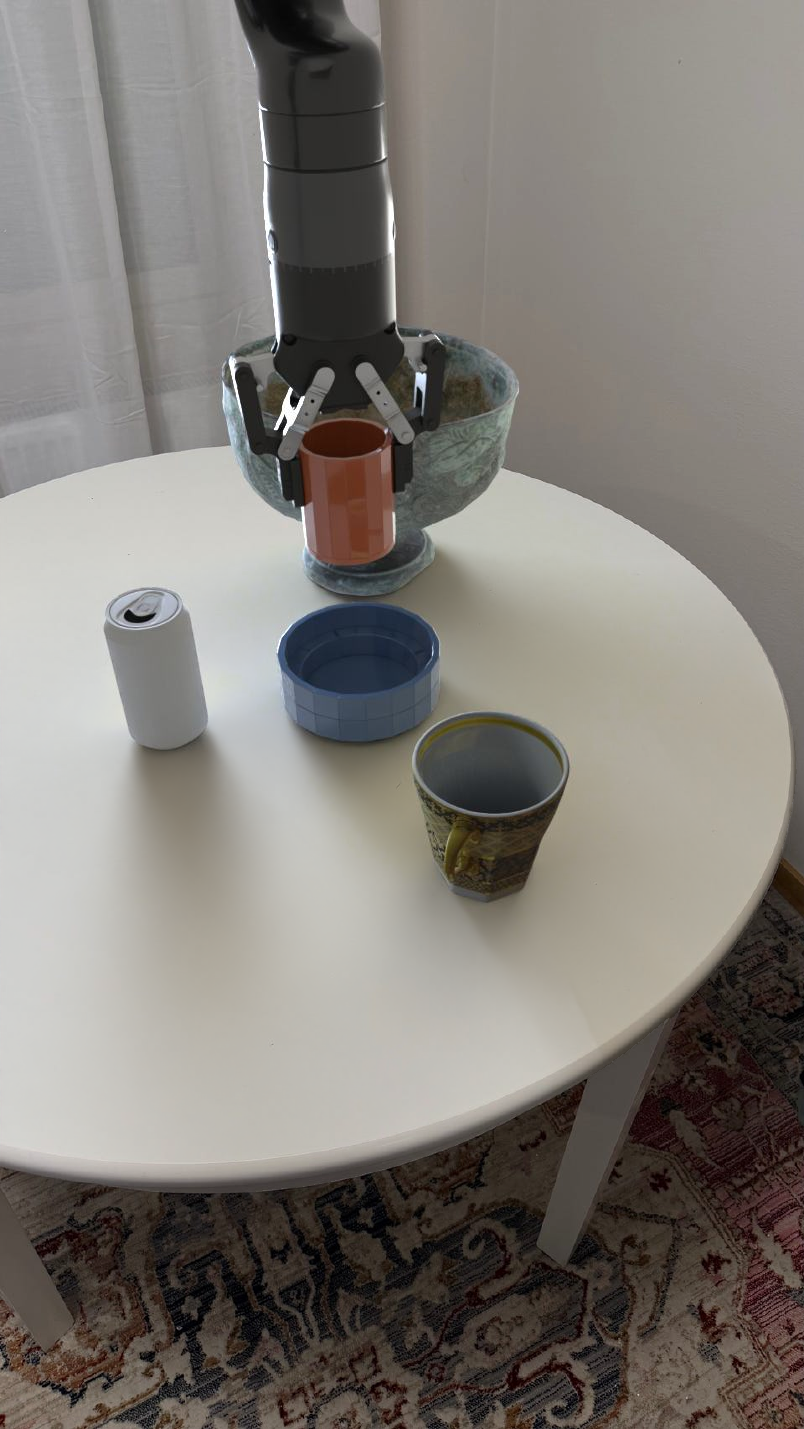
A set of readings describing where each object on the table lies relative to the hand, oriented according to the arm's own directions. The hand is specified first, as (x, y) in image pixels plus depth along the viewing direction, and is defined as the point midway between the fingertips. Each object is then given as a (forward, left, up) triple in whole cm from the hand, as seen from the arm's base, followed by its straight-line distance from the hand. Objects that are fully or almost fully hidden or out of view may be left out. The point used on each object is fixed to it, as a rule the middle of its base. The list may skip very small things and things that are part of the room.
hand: (346, 494), depth 71 cm
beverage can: (-15, +2, -20) cm, 25 cm away
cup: (0, 0, -4) cm, 4 cm away
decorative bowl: (+7, +23, -20) cm, 31 cm away
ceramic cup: (+4, -20, -20) cm, 29 cm away
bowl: (+1, +2, -20) cm, 20 cm away
